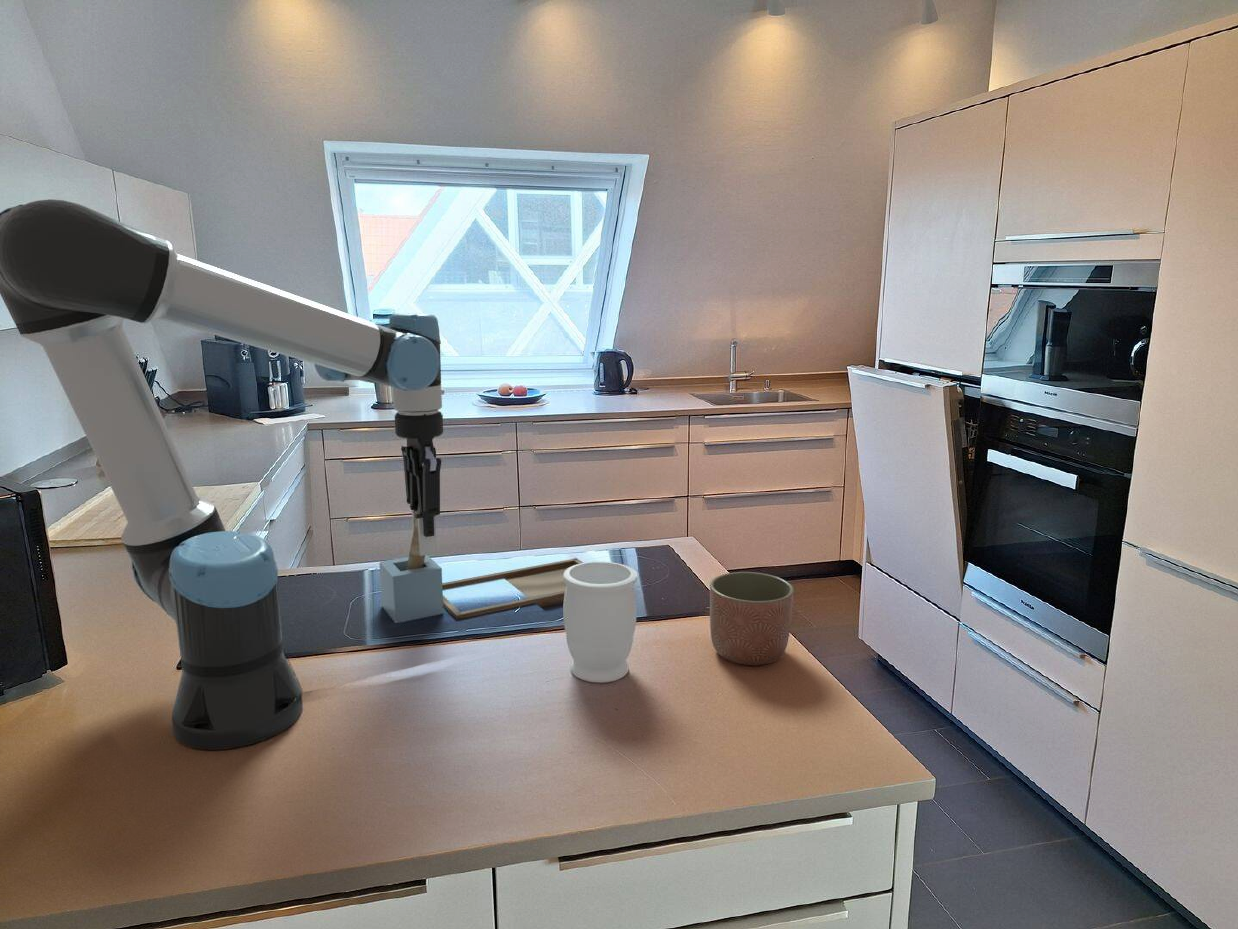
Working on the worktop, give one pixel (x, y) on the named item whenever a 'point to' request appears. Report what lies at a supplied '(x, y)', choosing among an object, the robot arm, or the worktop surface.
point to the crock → (411, 589)
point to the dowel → (415, 550)
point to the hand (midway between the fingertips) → (425, 550)
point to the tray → (521, 587)
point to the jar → (599, 619)
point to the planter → (750, 616)
